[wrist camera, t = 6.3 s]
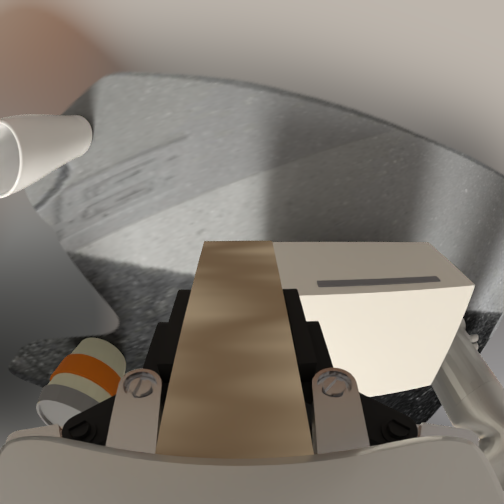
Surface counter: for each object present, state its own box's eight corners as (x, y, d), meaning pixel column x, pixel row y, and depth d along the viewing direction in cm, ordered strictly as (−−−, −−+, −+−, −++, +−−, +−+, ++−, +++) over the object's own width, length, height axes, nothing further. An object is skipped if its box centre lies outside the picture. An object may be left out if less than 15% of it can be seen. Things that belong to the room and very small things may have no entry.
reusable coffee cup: (126, 331, 43) (95, 408, 30) (143, 384, 49) (125, 455, 35) (60, 325, 43) (20, 390, 30) (82, 377, 48) (56, 439, 35)
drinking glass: (57, 166, 32) (-22, 203, 19) (52, 114, 29) (-32, 129, 16) (101, 159, 32) (28, 195, 19) (98, 104, 30) (18, 109, 16)
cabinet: (410, 225, 37) (475, 283, 24) (388, 313, 43) (430, 384, 30) (259, 223, 37) (269, 294, 23) (257, 320, 43) (263, 406, 29)
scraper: (272, 240, 14) (321, 498, 4) (262, 446, 22) (269, 567, 12) (204, 241, 14) (147, 496, 4) (225, 447, 22) (223, 568, 12)
